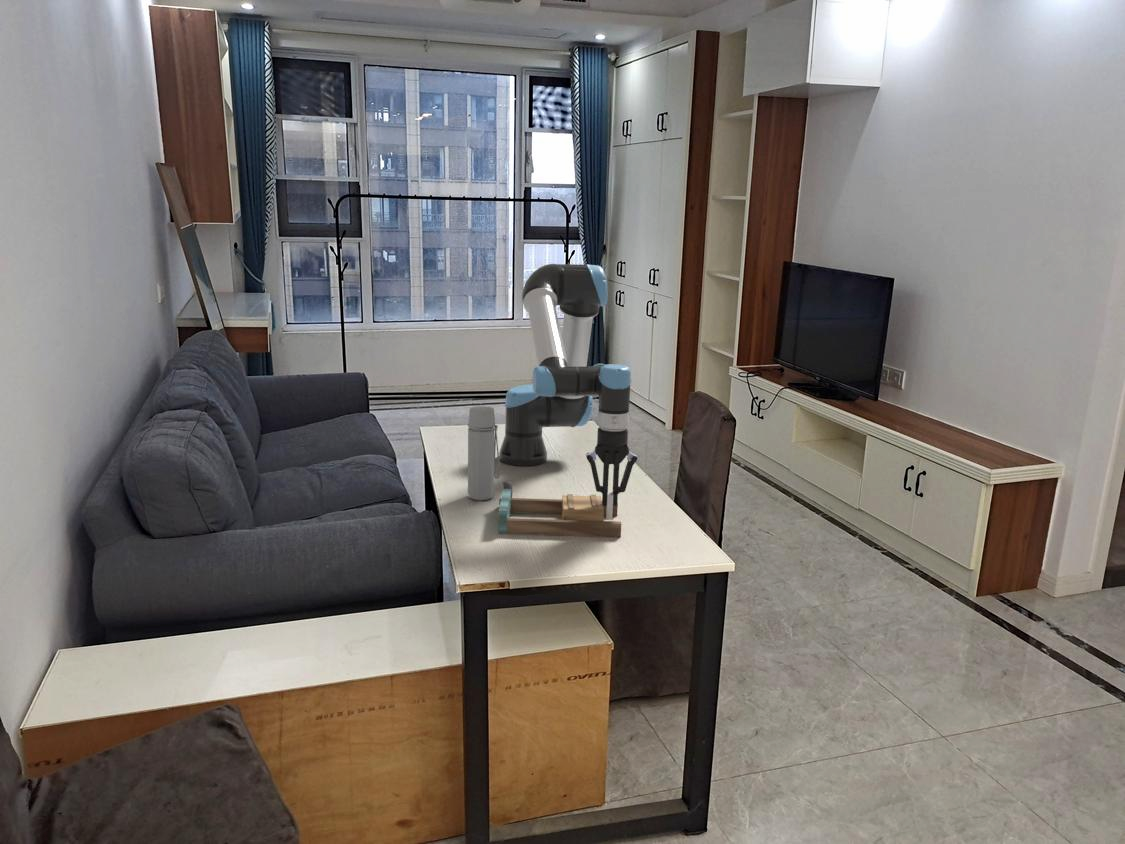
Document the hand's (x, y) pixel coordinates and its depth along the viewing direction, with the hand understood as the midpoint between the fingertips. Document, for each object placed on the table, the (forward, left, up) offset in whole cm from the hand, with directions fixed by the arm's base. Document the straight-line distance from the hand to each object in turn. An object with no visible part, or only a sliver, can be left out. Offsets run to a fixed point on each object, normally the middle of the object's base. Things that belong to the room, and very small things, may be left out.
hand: (609, 517), depth 211 cm
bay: (-2, -13, -2) cm, 13 cm away
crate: (-1, -7, -3) cm, 7 cm away
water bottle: (-18, -33, -2) cm, 38 cm away
